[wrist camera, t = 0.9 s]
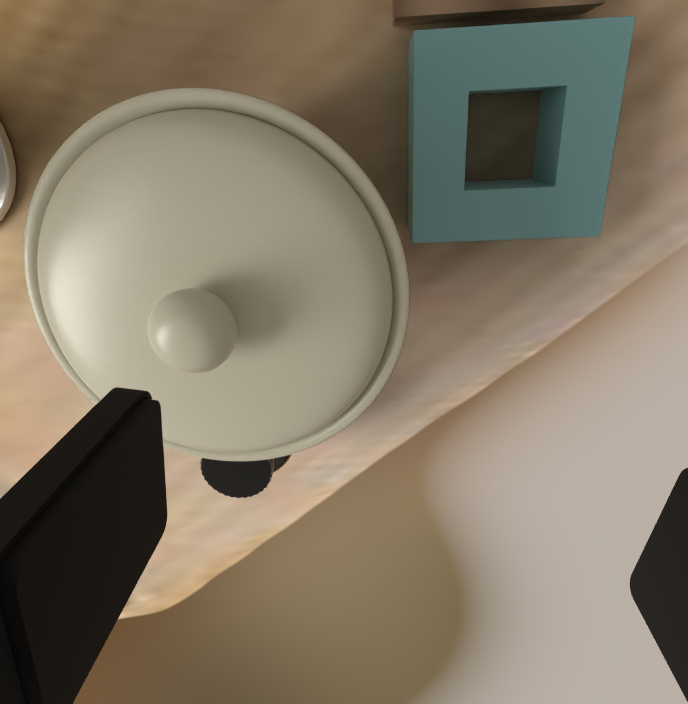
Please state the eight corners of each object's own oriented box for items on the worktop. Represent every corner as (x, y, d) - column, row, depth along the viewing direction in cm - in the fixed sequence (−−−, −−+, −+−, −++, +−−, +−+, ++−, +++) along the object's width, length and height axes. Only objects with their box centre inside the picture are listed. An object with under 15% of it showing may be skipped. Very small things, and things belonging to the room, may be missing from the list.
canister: (330, 375, 43) (296, 577, 24) (130, 281, 41) (-85, 423, 22) (440, 180, 36) (516, 245, 17) (207, 50, 34) (-12, -45, 14)
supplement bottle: (223, 404, 45) (176, 494, 34) (240, 338, 42) (194, 413, 31) (296, 425, 46) (273, 521, 35) (317, 362, 43) (299, 444, 32)
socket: (407, 228, 38) (412, 243, 33) (408, 43, 33) (414, 30, 28) (571, 222, 37) (599, 236, 32) (598, 30, 32) (635, 15, 27)
